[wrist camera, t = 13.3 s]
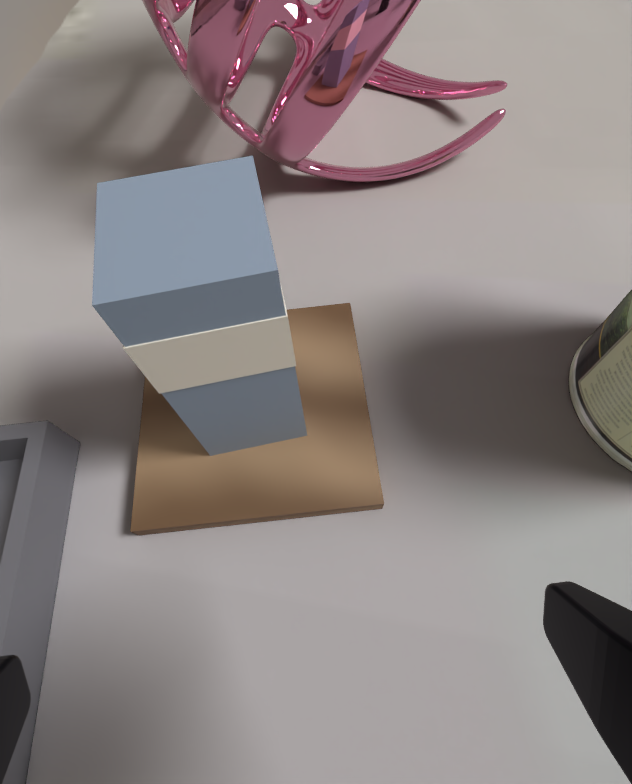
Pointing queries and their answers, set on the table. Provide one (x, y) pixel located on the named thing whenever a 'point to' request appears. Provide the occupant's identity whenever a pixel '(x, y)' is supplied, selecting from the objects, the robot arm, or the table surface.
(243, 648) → the table surface
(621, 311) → the coffee can
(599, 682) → the robot arm
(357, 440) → the pad
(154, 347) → the carton
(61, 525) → the tray
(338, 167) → the spiral basket
